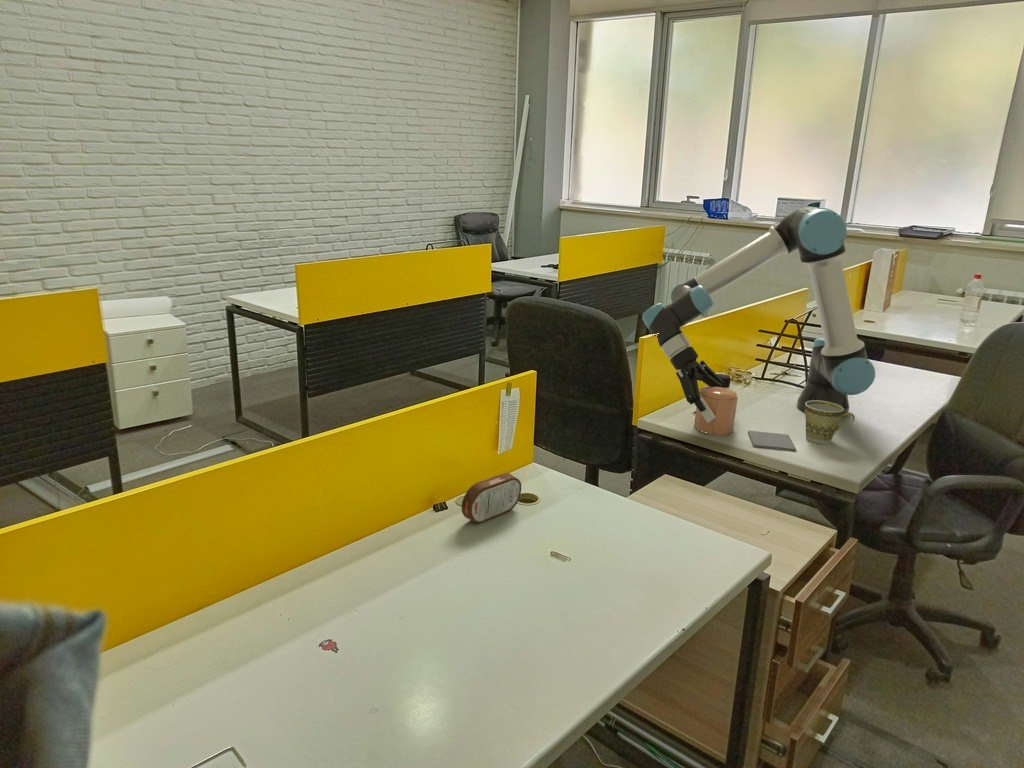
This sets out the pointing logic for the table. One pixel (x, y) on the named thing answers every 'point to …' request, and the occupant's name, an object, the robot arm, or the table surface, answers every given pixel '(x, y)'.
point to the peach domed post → (717, 410)
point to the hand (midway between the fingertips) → (722, 414)
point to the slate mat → (771, 440)
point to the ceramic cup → (823, 420)
